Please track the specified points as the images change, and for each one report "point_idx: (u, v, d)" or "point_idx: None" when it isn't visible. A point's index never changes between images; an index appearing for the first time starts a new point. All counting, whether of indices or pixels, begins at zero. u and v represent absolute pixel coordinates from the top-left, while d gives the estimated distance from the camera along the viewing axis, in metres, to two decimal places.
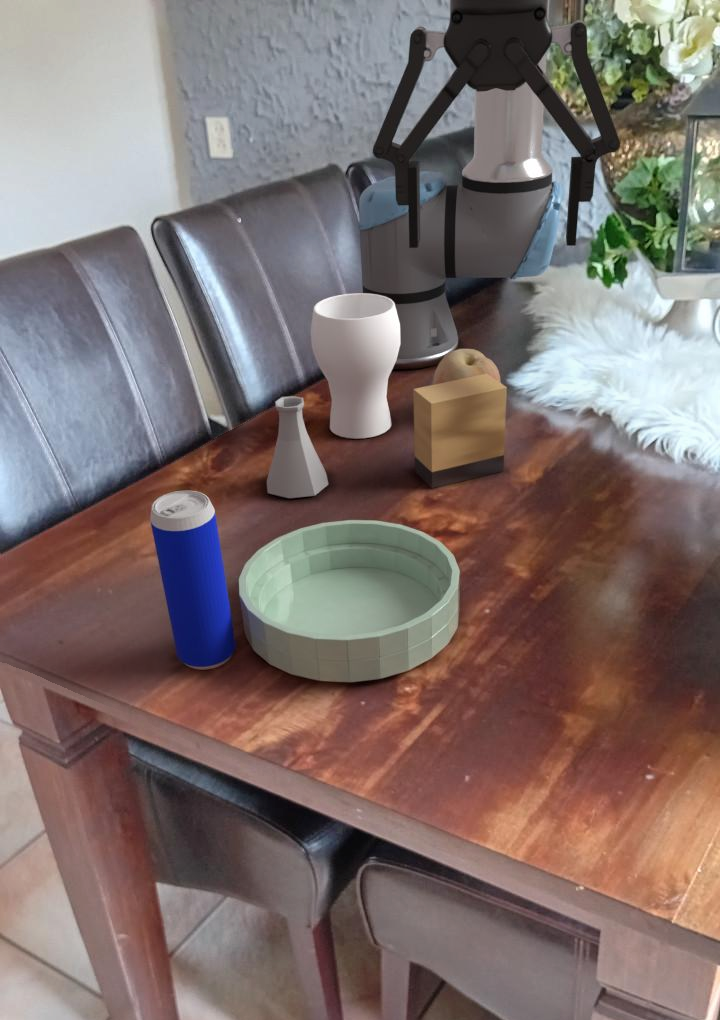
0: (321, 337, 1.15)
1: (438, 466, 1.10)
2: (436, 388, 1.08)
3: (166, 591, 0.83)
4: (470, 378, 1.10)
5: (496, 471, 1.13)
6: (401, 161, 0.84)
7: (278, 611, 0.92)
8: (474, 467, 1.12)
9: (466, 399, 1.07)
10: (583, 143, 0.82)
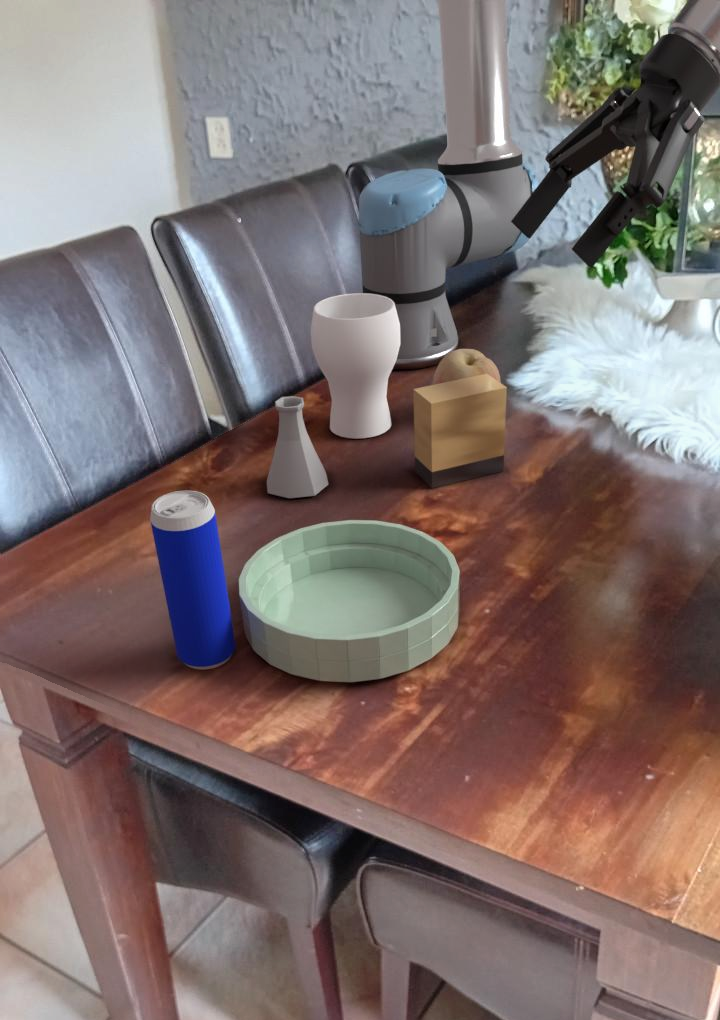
0: (321, 337, 1.15)
1: (438, 466, 1.10)
2: (436, 388, 1.08)
3: (166, 591, 0.83)
4: (470, 378, 1.10)
5: (496, 471, 1.13)
6: None
7: (278, 611, 0.92)
8: (474, 467, 1.12)
9: (466, 399, 1.07)
10: None
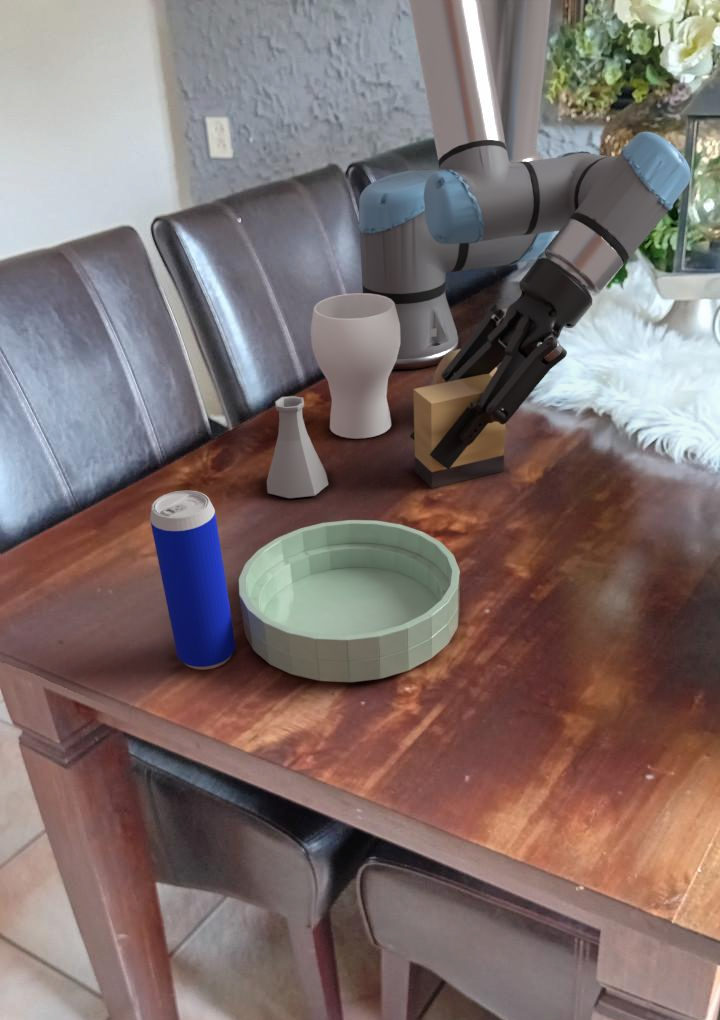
0: (321, 337, 1.15)
1: (438, 466, 1.10)
2: (436, 388, 1.08)
3: (166, 591, 0.83)
4: (470, 378, 1.10)
5: (496, 471, 1.13)
6: None
7: (278, 611, 0.92)
8: (474, 467, 1.12)
9: (466, 399, 1.07)
10: None
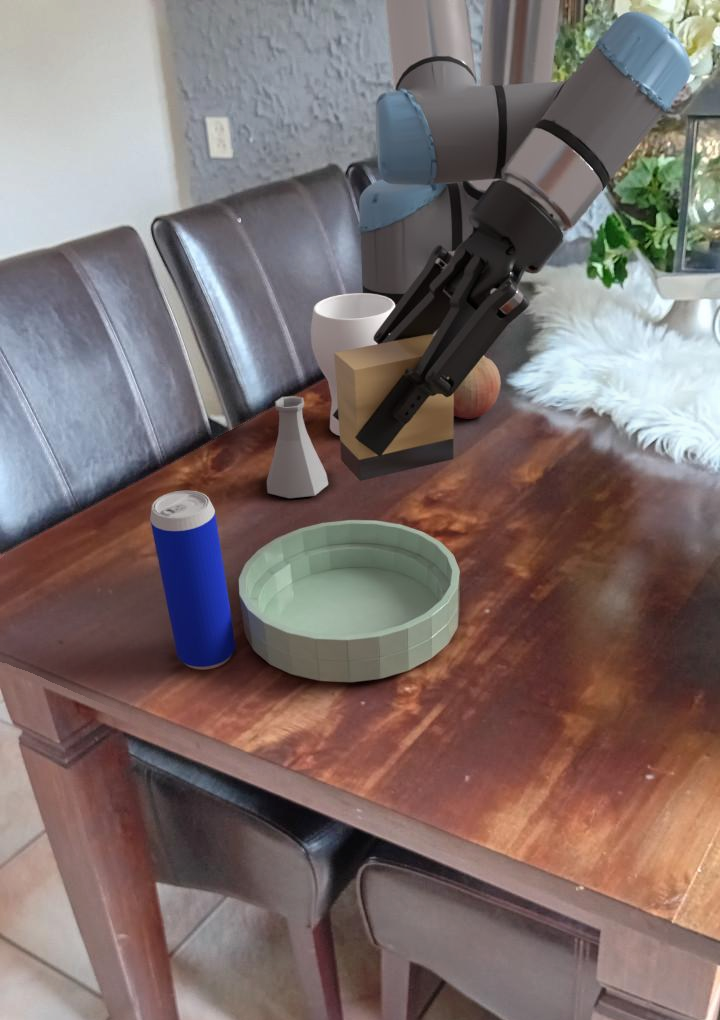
0: (321, 337, 1.15)
1: (367, 452, 0.86)
2: (363, 351, 0.84)
3: (166, 591, 0.83)
4: (408, 339, 0.86)
5: (444, 459, 0.89)
6: None
7: (278, 611, 0.92)
8: (415, 454, 0.87)
9: (401, 365, 0.82)
10: None
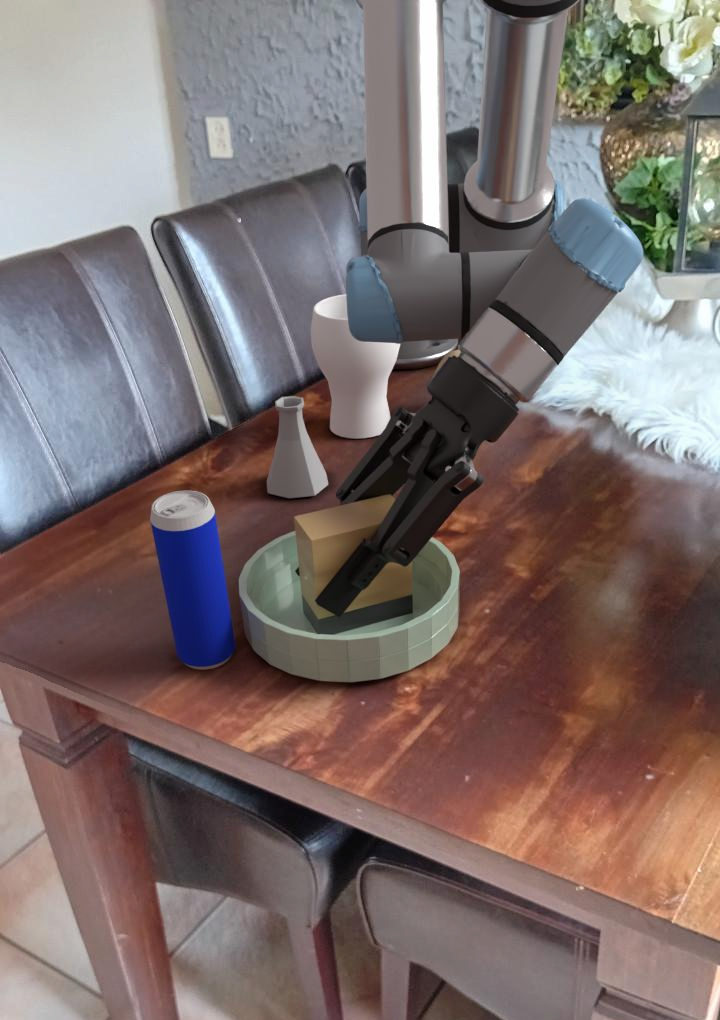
0: (321, 337, 1.15)
1: (326, 612, 0.87)
2: (323, 516, 0.86)
3: (166, 591, 0.83)
4: (368, 501, 0.87)
5: (403, 613, 0.90)
6: None
7: (278, 611, 0.92)
8: (374, 610, 0.89)
9: (358, 533, 0.84)
10: None
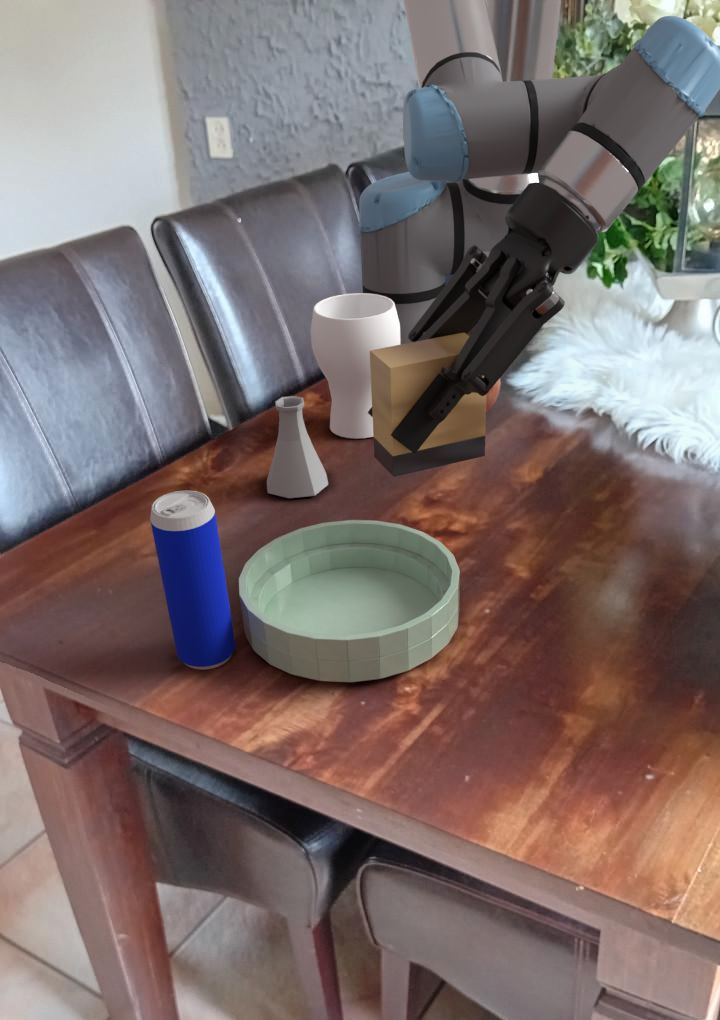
0: (321, 337, 1.15)
1: (401, 449, 0.87)
2: (399, 349, 0.85)
3: (166, 591, 0.83)
4: (442, 338, 0.87)
5: (475, 456, 0.90)
6: None
7: (278, 611, 0.92)
8: (447, 450, 0.89)
9: (436, 363, 0.84)
10: None
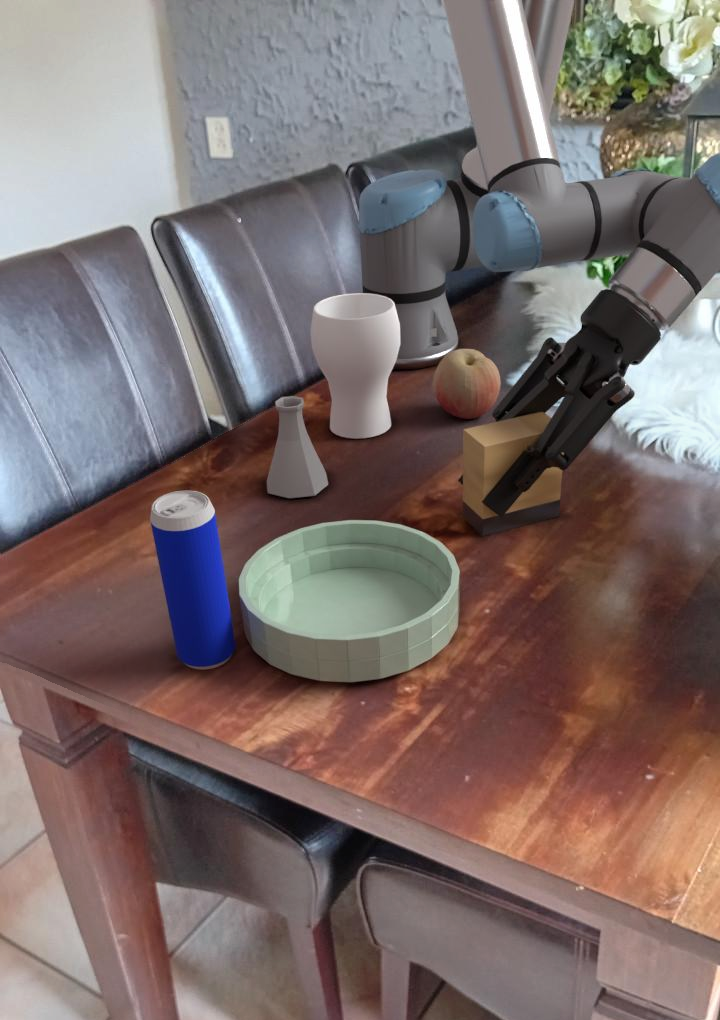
0: (321, 337, 1.15)
1: (490, 513, 1.01)
2: (488, 428, 1.00)
3: (166, 591, 0.83)
4: (524, 417, 1.01)
5: (551, 516, 1.04)
6: None
7: (278, 611, 0.92)
8: (528, 513, 1.03)
9: (522, 441, 0.98)
10: None
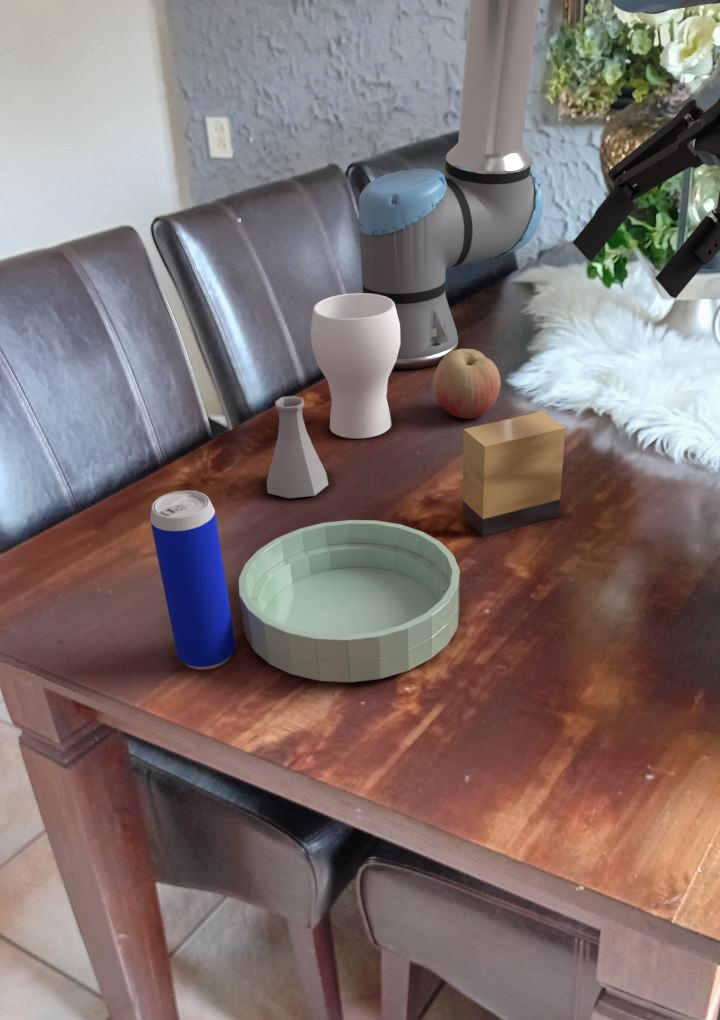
0: (321, 337, 1.15)
1: (490, 512, 1.01)
2: (488, 428, 1.00)
3: (166, 591, 0.83)
4: (524, 417, 1.01)
5: (551, 516, 1.04)
6: None
7: (278, 611, 0.92)
8: (528, 513, 1.03)
9: (522, 441, 0.98)
10: None
